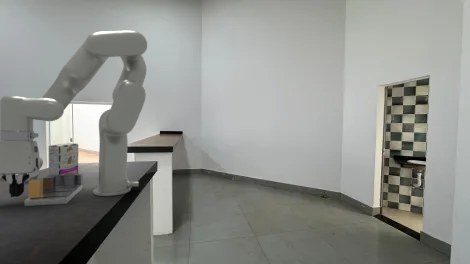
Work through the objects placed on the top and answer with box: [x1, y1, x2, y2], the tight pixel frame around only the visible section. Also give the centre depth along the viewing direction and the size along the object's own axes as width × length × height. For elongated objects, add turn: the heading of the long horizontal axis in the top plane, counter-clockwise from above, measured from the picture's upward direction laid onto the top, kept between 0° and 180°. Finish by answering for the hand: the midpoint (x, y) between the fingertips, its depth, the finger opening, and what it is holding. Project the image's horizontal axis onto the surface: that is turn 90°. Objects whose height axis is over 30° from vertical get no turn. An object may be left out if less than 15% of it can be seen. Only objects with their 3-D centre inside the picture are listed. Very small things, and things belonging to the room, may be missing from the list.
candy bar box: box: [48, 142, 79, 175], centre depth 99 cm, size 11×5×16 cm, turn 179°
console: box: [24, 173, 84, 207], centre depth 82 cm, size 11×18×7 cm, turn 19°
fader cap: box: [27, 178, 43, 198], centre depth 75 cm, size 3×2×5 cm
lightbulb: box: [28, 156, 44, 181], centre depth 99 cm, size 6×6×11 cm
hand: (16, 195), depth 73 cm, fingers closed
